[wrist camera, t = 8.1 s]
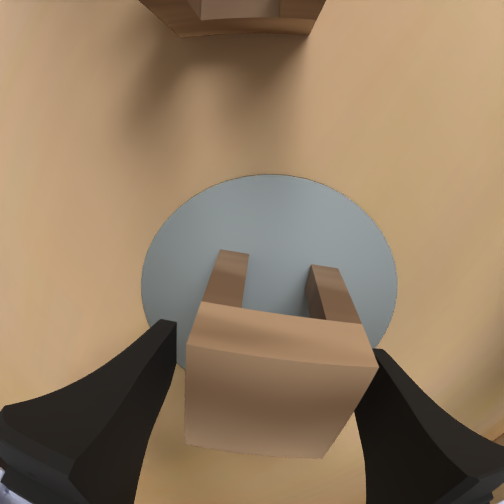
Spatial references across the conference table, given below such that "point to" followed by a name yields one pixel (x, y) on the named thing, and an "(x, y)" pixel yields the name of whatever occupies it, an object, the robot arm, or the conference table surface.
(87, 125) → the conference table surface
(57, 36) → the conference table surface
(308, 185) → the mat
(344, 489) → the conference table surface
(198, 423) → the stool
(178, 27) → the upturned twin stool
